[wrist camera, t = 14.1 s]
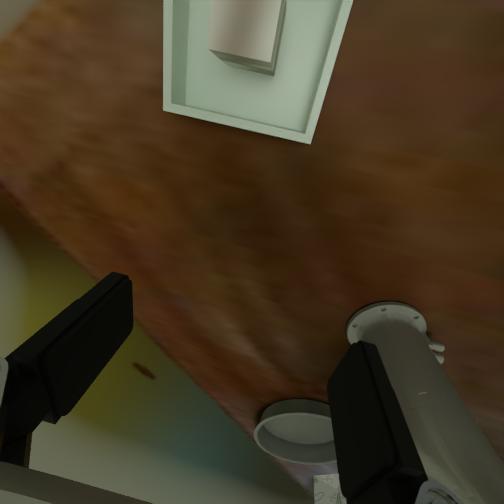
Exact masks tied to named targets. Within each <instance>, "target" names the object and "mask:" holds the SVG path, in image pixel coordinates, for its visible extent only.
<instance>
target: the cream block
mask: <svg viewBox="0 0 504 504" xmlns="http://www.w3.org/2000/svg"><path fill="white" fill-rule="evenodd" d="M286 4H287V0H211V10H210V24H209V39H208V50H210V51H211V52H212V53H213V54H214V55H216V56H217V57H218V58H219V59H220V60H222V61H223V62H224V63H225V64H226V65H228V66H229V67H234V68H239V69H243V70H248V71H252V72H257V73H262V74H266V75H271V76H274V75H275V70H276V65H277V60H278V54H279V49H280V44H281V39H282V33H283V28H284V23H285V17H286Z"/></svg>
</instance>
